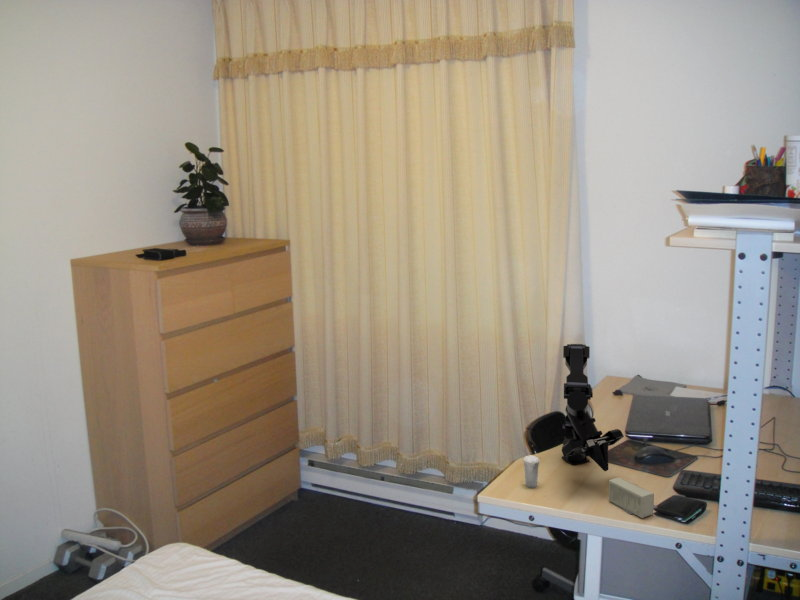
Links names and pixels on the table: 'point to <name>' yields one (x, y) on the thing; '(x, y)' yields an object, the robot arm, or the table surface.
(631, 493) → the skincare box
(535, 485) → the milkshake
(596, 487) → the table surface
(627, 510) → the felt pad
